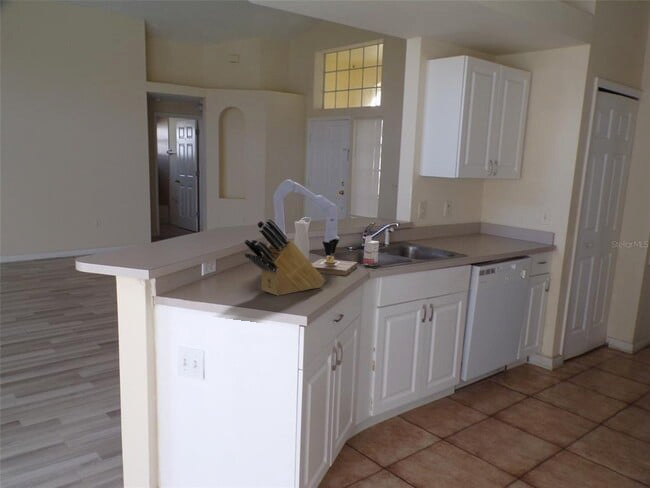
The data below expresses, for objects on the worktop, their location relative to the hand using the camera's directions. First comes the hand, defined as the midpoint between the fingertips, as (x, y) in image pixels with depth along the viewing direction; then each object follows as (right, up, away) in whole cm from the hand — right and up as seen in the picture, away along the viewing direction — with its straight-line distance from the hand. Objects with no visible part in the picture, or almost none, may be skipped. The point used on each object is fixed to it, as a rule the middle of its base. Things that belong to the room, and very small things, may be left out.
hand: (330, 254), depth 254 cm
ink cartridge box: (+22, -5, +19) cm, 30 cm away
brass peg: (0, -7, +1) cm, 7 cm away
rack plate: (+1, -7, -1) cm, 8 cm away
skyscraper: (-14, -10, -20) cm, 27 cm away
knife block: (-19, -14, -47) cm, 53 cm away
